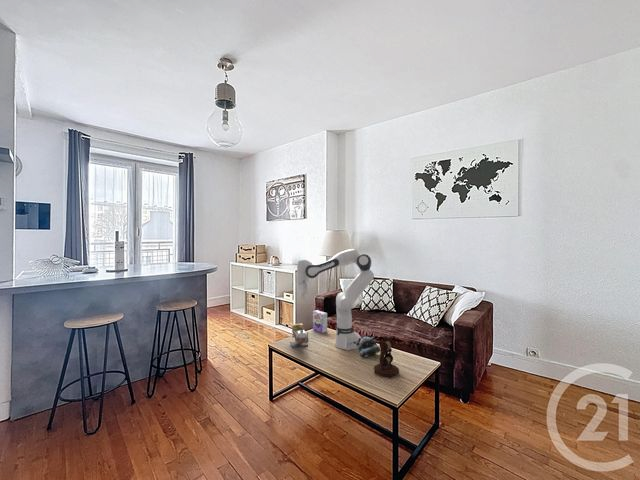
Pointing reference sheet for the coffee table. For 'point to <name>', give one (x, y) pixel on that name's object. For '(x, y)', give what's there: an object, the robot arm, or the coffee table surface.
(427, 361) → the coffee table surface
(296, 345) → the grey gold rectangular frame
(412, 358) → the coffee table surface
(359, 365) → the coffee table surface
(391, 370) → the brown statuette
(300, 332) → the rider
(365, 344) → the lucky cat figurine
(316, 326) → the candy box
